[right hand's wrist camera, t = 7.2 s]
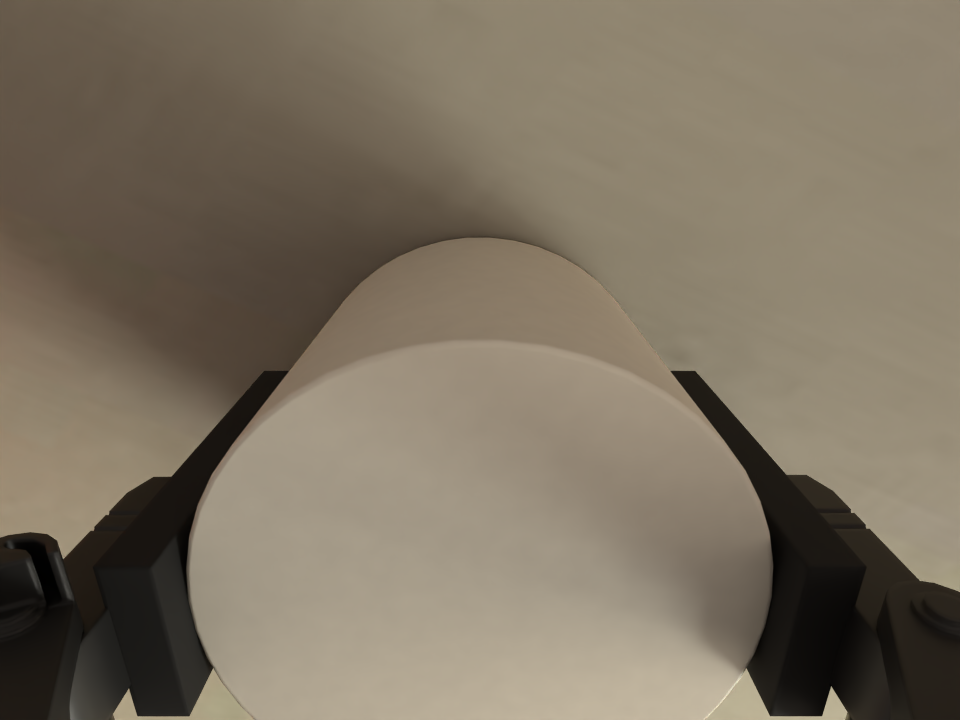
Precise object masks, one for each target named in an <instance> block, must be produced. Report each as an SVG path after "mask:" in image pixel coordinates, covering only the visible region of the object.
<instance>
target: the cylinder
mask: <svg viewBox="0 0 960 720" xmlns="http://www.w3.org/2000/svg"><path fill="white" fill-rule="evenodd" d="M186 574H187V588H188V601H189V605H190V609H191V613H192V617H193V621H194V626H195V630H196V632H197V634H198V637H199V639H200V642H201V644H202V646H203V649H204V651H205V654H206V656H207V658H208V660H209V661H210V663H211V665H212V666H213V668H214V670H215V671H216V673H217V675H218V676H219V678H220V680H221V681H222V683H223V684H224V686H225V687H226V688H227V689H228V691H229V692H230V693H231V694H232V696H233V697H234V698H235V699H236V701H237V702H238V703H239V704H240V706H241V707H242V708H243V709H244V710H245V711H246V712H248V713H249V714H250V715H251V716H252V717H253V718H254V719H255V720H705V719H706V718H707V717H708V716H709V715H710V714H711V713H712V712H713V711H714V710H715V709H716V708H717V707H718V706H719V705H720V704H721V703H722V702H723V700H724V699H725V698H726V696H727V695H728V694H729V692H730V691H731V690H732V689H733V687H734V686H735V685H736V683H737V682H738V681H739V680H740V678H741V676H742V674H743V673H744V671H745V669H746V667H747V666H748V664H749V662H750V660H751V659H752V657H753V655H754V653H755V651H756V648H757V646H758V643H759V641H760V638H761V635H762V633H763V630H764V628H765V625H766V620H767V616H768V611H769V607H770V602H771V598H772V581H773V558H772V550H771V541H770V532H769V529H768V525H767V522H766V519H765V515H764V512H763V508H762V505H761V502H760V499H759V497H758V495H757V493H756V491H755V489H754V487H753V485H752V483H751V481H750V479H749V477H748V475H747V473H746V471H745V469H744V468H743V466H742V465H741V464H740V462H739V461H738V459H737V458H736V457H735V455H734V454H733V452H732V451H731V450H730V448H729V447H728V445H727V444H726V443H725V441H724V440H723V439H722V437H721V436H720V435H719V433H718V432H717V431H716V430H715V428H714V427H713V426H712V424H711V423H710V422H709V421H708V419H707V418H706V417H705V415H704V414H703V413H702V412H701V410H700V409H699V408H698V406H697V405H696V404H695V403H694V401H693V400H692V399H691V397H690V396H689V395H688V394H687V392H686V391H685V390H684V388H683V387H682V386H681V384H680V383H679V382H678V381H677V379H676V378H675V377H674V375H673V374H672V373H671V372H670V370H669V369H668V368H667V366H666V365H665V364H664V363H663V361H662V360H661V359H660V357H659V356H658V355H657V354H656V352H655V351H654V350H653V348H652V347H651V346H650V344H649V343H648V342H647V341H646V339H645V338H644V337H643V335H642V334H641V333H640V332H639V330H638V329H637V328H636V326H635V325H634V324H633V323H632V321H631V320H630V319H629V317H628V316H627V315H626V314H625V312H624V311H623V310H622V308H621V307H620V306H619V305H618V303H617V302H616V301H615V299H614V298H613V297H612V296H611V295H610V294H609V293H608V292H607V291H606V290H605V289H604V288H603V286H602V285H601V284H600V283H599V282H598V281H596V280H595V279H594V278H593V277H591V276H590V275H589V274H588V273H586V272H585V271H584V270H582V269H581V268H580V267H578V266H577V265H575V264H573V263H571V262H570V261H568V260H566V259H564V258H563V257H561V256H559V255H557V254H554V253H552V252H549V251H547V250H545V249H542V248H540V247H537V246H533V245H529V244H526V243H522V242H518V241H514V240H506V239H498V238H461V239H454V240H447V241H441V242H437V243H434V244H430V245H427V246H423V247H420V248H417V249H415V250H413V251H410V252H408V253H406V254H403V255H401V256H399V257H397V258H395V259H393V260H392V261H390V262H388V263H387V264H385V265H383V266H382V267H380V268H378V269H377V270H376V271H375V272H373V273H372V274H371V275H370V276H368V277H367V278H366V279H365V280H363V281H362V282H361V283H360V284H359V285H358V286H357V287H356V288H355V289H354V290H353V291H352V292H351V294H350V295H349V296H348V297H347V298H346V299H345V300H344V301H343V303H342V304H341V305H340V307H339V308H338V309H337V310H336V312H335V313H334V314H333V316H332V317H331V318H330V319H329V321H328V322H327V323H326V325H325V326H324V327H323V328H322V330H321V331H320V332H319V334H318V335H317V336H316V337H315V339H314V340H313V341H312V343H311V344H310V345H309V346H308V348H307V349H306V350H305V352H304V353H303V354H302V355H301V357H300V358H299V359H298V361H297V362H296V363H295V364H294V366H293V367H292V368H291V370H290V371H289V372H288V374H287V375H286V376H285V377H284V379H283V380H282V381H281V383H280V384H279V385H278V386H277V388H276V389H275V390H274V392H273V393H272V394H271V395H270V397H269V398H268V399H267V401H266V402H265V403H264V404H263V406H262V407H261V408H260V410H259V411H258V412H257V413H256V415H255V416H254V417H253V419H252V420H251V421H250V422H249V424H248V425H247V426H246V428H245V429H244V430H243V431H242V433H241V434H240V435H239V437H238V438H237V439H236V440H235V442H234V443H233V444H232V446H231V447H230V449H229V450H228V452H227V453H226V454H225V456H224V457H223V459H222V460H221V462H220V463H219V465H218V466H217V468H216V469H215V471H214V472H213V473H212V475H211V478H210V480H209V482H208V484H207V486H206V488H205V490H204V493H203V495H202V497H201V499H200V501H199V503H198V506H197V510H196V513H195V517H194V521H193V524H192V528H191V532H190V535H189V545H188V555H187V566H186Z"/></svg>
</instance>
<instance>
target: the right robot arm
mask: <svg viewBox="0 0 960 720" xmlns="http://www.w3.org/2000/svg"><path fill="white" fill-rule="evenodd" d="M288 372H289V371H264V372H263V373H262V374H261V375H260V377H259V378H258V379H257V380H256V381H255V382H254V383H253V384H252V386H251V387H250V388H249V389H248V390H247V391H246V392H245V394H244V395H243V396H242V397H241V398H240V399H239V400H238V402H237V403H236V404H235V405H234V406H233V407H232V408H231V410H230V411H229V412H228V413H227V414H226V415H225V416H224V418H223V419H222V420H221V421H220V422H219V423H218V424H217V426H216V427H215V428H214V429H213V430H212V431H211V432H210V434H209V435H208V436H207V437H206V438H205V439H204V440H203V442H202V443H201V444H200V445H199V446H198V447H197V448H196V449H195V451H194V452H193V453H192V454H191V455H190V456H189V457H188V459H187V460H186V461H185V462H184V463H183V464H182V465H181V467H180V468H179V469H178V470H177V471H176V472H175V473H174V475H173V476H172V477H153V478H151V479H149V480H148V481H146V482H144V483H143V484H141V485H139V486H138V487H136V488H134V489H133V490H131V491H129V492H128V493H127V494H126V495H125V496H124V497H123V498H122V499H121V500H120V501H119V502H118V503H117V504H116V505H115V506H114V507H113V508H112V509H111V510H110V511H109V515H105V517H104V518H103V519H102V520H101V521H100V522H99V523H98V524H97V525H96V526H95V527H94V528H95V529H94V531H90V532H89V533H88V534H87V535H86V536H85V537H84V538H83V539H82V541H81V542H80V543H79V544H78V545H77V546H76V547H75V548H74V549H73V550H72V551H71V552H70V553H69V554H68V555H67V556H66V557H65V558H64V559H63V558H62V555H61V552H60V549H59V546H58V542H57V540H55V539H54V538H52V537H51V536H49V535H48V534H41V533H31V532H29V533H22V534H14V535H8V536H5V537H1V538H0V720H115V719H114V716H113V713H114V711H115V710H116V708H117V706H118V705H119V703H120V702H121V700H122V698H123V697H124V695H125V693H126V692H127V690H128V689H129V690H130V693H131V696H132V700H133V703H134V706H135V709H136V713H137V716H190V714H191V712H192V710H193V708H194V706H195V704H196V702H197V700H198V698H199V696H200V694H201V691H202V689H203V687H204V685H205V683H206V681H207V679H208V677H209V675H210V673H211V671H212V669H213V666H212V665H211V663H210V661H209V660H208V658H207V656H206V654H205V651H204V649H203V646H202V644H201V642H200V639H199V637H198V634H197V632H196V630H195V626H194V621H193V617H192V613H191V609H190V605H189V601H188V588H187V574H186V566H187V555H188V545H189V535H190V532H191V528H192V524H193V521H194V517H195V513H196V510H197V506H198V503H199V501H200V499H201V497H202V495H203V493H204V490H205V488H206V486H207V484H208V482H209V480H210V478H211V475H212V473H213V472H214V471H215V469H216V468H217V466H218V465H219V463H220V462H221V460H222V459H223V457H224V456H225V454H226V453H227V452H228V450H229V449H230V447H231V446H232V444H233V443H234V442H235V440H236V439H237V438H238V437H239V435H240V434H241V433H242V431H243V430H244V429H245V428H246V426H247V425H248V424H249V422H250V421H251V420H252V419H253V417H254V416H255V415H256V413H257V412H258V411H259V410H260V408H261V407H262V406H263V404H264V403H265V402H266V401H267V399H268V398H269V397H270V395H271V394H272V393H273V392H274V390H275V389H276V388H277V386H278V385H279V384H280V383H281V381H282V380H283V379H284V377H285V376H286V375H287V374H288ZM670 372H671V373H672V374H673V375H674V377H675V378H676V379H677V381H678V382H679V383H680V384H681V386H682V387H683V388H684V390H685V391H686V392H687V394H688V395H689V396H690V397H691V399H692V400H693V401H694V403H695V404H696V405H697V406H698V408H699V409H700V410H701V412H702V413H703V414H704V415H705V417H706V418H707V419H708V421H709V422H710V423H711V424H712V426H713V427H714V428H715V430H716V431H717V432H718V433H719V435H720V436H721V437H722V439H723V440H724V441H725V443H726V444H727V445H728V447H729V448H730V450H731V451H732V452H733V454H734V455H735V457H736V458H737V459H738V461H739V462H740V464H741V465H742V466H743V468H744V469H745V471H746V473H747V475H748V477H749V479H750V481H751V483H752V485H753V487H754V489H755V491H756V493H757V495H758V497H759V499H760V502H761V505H762V508H763V512H764V515H765V519H766V522H767V525H768V529H769V532H770V541H771V550H772V558H773V581H772V598H771V602H770V607H769V611H768V616H767V620H766V625H765V628H764V630H763V633H762V635H761V638H760V641H759V643H758V646H757V648H756V651H755V653H754V655H753V657H752V659H751V660H750V662H749V664H748V666H747V667H746V668H747V670H748V672H749V674H750V676H751V678H752V680H753V682H754V684H755V686H756V688H757V690H758V692H759V694H760V696H761V698H762V700H763V702H764V705H765V707H766V709H767V711H768V713H769V715H770V716H822V715H823V711H824V708H825V705H826V701H827V698H828V695H829V691H830V688H831V686H832V688H833V689H834V691H835V693H836V694H837V696H838V697H839V699H840V701H841V702H842V704H843V705H844V707H845V709H846V710H847V712H848V713H847V716H846V719H845V720H960V592H958V591H956V590H953V589H950V588H947V587H944V586H941V585H938V584H935V583H930V582H923V581H919V580H918V579H917V578H916V576H915V575H914V574H913V573H912V572H911V571H910V570H909V569H908V568H907V567H906V566H905V565H904V564H903V563H902V562H901V561H900V560H899V559H898V558H897V557H896V556H895V555H894V554H893V553H892V552H891V551H890V550H889V549H888V547H887V546H886V545H885V544H884V543H883V542H882V541H881V540H880V539H879V538H878V537H877V536H876V535H875V534H874V533H873V532H872V531H871V530H870V529H866V525H865V524H864V523H863V522H862V521H861V520H860V518H859V517H858V516H857V515H856V514H855V513H851V509H850V508H849V507H848V506H847V505H846V504H845V503H844V502H843V501H842V500H841V499H840V498H839V497H838V496H837V495H836V494H835V493H834V492H833V491H832V490H831V489H829V488H827V487H826V486H824V485H822V484H821V483H819V482H817V481H816V480H814V479H812V478H811V477H809V476H807V475H786V474H785V473H784V472H783V471H782V469H781V468H780V467H779V466H778V465H777V464H776V463H775V461H774V460H773V459H772V458H771V457H770V456H769V455H768V453H767V452H766V451H765V450H764V449H763V448H762V447H761V445H760V444H759V443H758V442H757V441H756V440H755V439H754V437H753V436H752V435H751V434H750V433H749V432H748V431H747V429H746V428H745V427H744V426H743V425H742V424H741V423H740V421H739V420H738V419H737V418H736V417H735V416H734V415H733V413H732V412H731V411H730V410H729V409H728V408H727V407H726V406H725V404H724V403H723V402H722V401H721V400H720V399H719V398H718V396H717V395H716V394H715V393H714V392H713V391H712V390H711V388H710V387H709V386H708V385H707V384H706V383H705V382H704V380H703V379H702V378H701V377H700V376H699V375H698V374H697V372H696V371H670Z"/></svg>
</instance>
